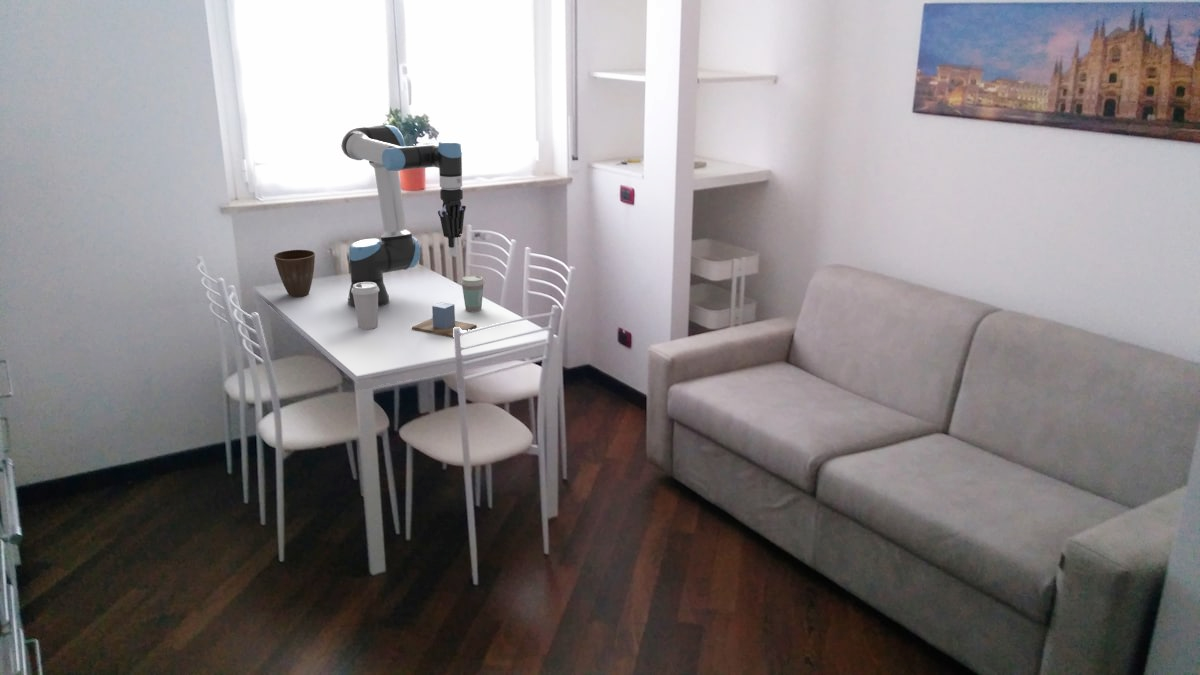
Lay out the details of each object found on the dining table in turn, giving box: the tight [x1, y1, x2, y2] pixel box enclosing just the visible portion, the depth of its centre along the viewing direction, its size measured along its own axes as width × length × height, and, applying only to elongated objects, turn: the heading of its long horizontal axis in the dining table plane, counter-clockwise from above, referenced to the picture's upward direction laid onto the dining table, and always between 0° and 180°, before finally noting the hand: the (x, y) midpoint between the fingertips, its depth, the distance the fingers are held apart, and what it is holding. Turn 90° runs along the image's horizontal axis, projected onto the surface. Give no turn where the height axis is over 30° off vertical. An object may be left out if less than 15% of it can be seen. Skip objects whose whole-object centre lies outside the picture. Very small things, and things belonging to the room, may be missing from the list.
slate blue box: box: [431, 301, 456, 329], centre depth 318 cm, size 5×5×8 cm
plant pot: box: [273, 249, 316, 298], centre depth 352 cm, size 15×15×16 cm
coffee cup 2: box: [460, 275, 485, 312], centre depth 339 cm, size 8×9×12 cm
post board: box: [411, 317, 478, 338], centre depth 319 cm, size 18×13×7 cm
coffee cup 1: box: [351, 282, 380, 330], centre depth 318 cm, size 10×10×15 cm
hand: (453, 255), depth 318 cm, fingers closed
